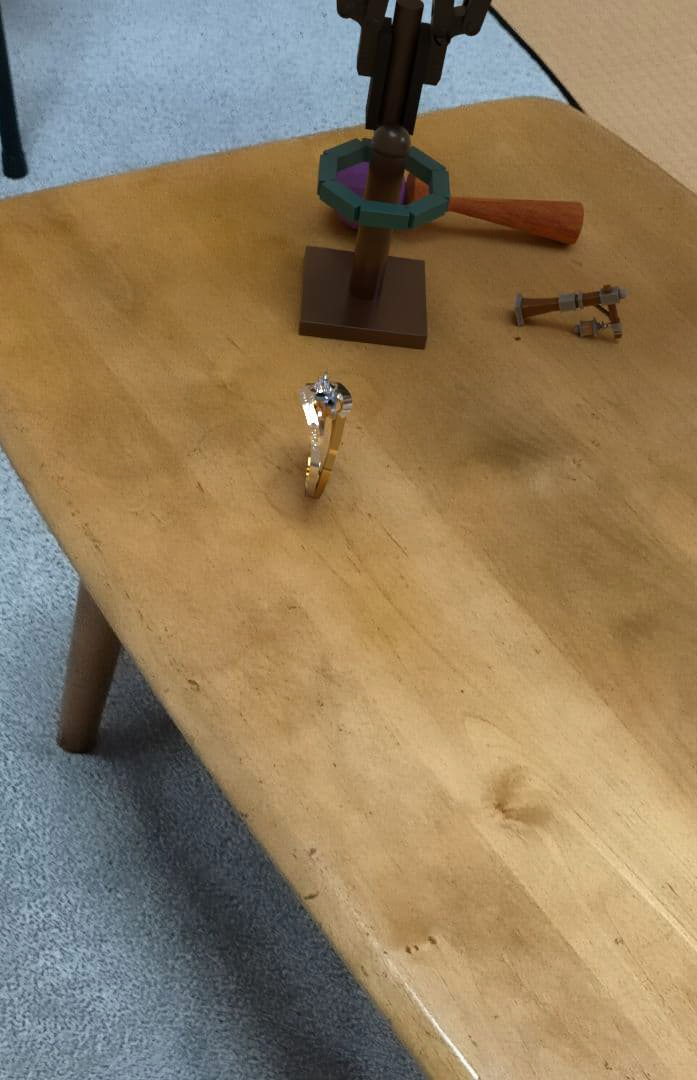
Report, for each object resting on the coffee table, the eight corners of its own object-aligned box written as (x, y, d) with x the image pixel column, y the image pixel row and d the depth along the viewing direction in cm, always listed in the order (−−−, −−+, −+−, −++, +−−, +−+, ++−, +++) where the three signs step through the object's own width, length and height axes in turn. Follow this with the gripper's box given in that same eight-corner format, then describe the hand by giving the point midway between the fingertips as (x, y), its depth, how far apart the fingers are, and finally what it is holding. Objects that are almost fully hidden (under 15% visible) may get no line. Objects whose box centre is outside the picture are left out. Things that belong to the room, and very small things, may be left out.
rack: (422, 273, 94) (460, 99, 83) (424, 349, 88) (465, 173, 77) (304, 258, 93) (327, 81, 83) (298, 334, 87) (322, 154, 77)
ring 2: (448, 237, 81) (486, 77, 73) (315, 219, 80) (337, 56, 72) (443, 161, 87) (478, 5, 79) (319, 144, 86) (341, -15, 78)
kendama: (594, 224, 94) (337, 183, 90) (565, 277, 99) (321, 240, 95) (585, 168, 97) (336, 126, 93) (558, 222, 102) (321, 185, 98)
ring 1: (291, 441, 80) (305, 345, 74) (340, 448, 80) (358, 353, 74) (280, 520, 75) (293, 424, 69) (332, 528, 75) (350, 433, 70)
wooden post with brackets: (633, 342, 90) (625, 290, 87) (524, 353, 93) (513, 304, 90) (634, 327, 91) (626, 276, 88) (526, 339, 94) (516, 289, 91)
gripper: (319, -278, 63) (276, 136, 81) (602, -231, 65) (499, 166, 82) (324, -320, 68) (283, 79, 86) (586, -276, 70) (493, 108, 87)
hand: (389, 121), depth 84 cm, fingers closed on ring 2, 2 cm apart
